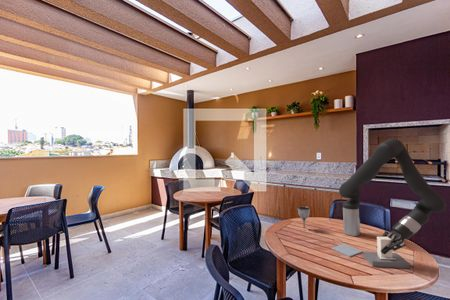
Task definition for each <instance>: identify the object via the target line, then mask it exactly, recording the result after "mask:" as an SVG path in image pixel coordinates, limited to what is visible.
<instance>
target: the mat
mask: <svg viewBox="0 0 450 300" xmlns="http://www.w3.org/2000/svg"><path fill="white" fill-rule="evenodd" d="M330 249H331V250H333V251H335V252H337V253H340V254H342V255H344V256H345V257H347V258H351V257H354V256H356V255H359V254H361V253H362V254H363V252H364V251H363V250H360V249H359V248H355V247H353V246H351V245H348V244H346V243H342V244H339V245H336V246H333V247H330Z"/></svg>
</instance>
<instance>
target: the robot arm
mask: <svg viewBox="0 0 450 300" xmlns="http://www.w3.org/2000/svg"><path fill="white" fill-rule="evenodd" d="M394 158H395V160H396V161H397V163H398V164H399V167H400V169H401V172H402V176H403V178H404V179H403V180H405V182H406V184H407V185H408V187H409V188H410V189H411V191H412V192H413V193H414V194H415V195H417V196H419V197H420V200H418V201H417V203H416V204H415V206H414V208H413V209H412V210H411V211H410V212H408V213H407V215H405V216H403V217H402V218H401V219H400V220H399V221H398V222H396V223H395V224H394V225H393V226H392V228H391V229H392V230H391V231H389V232H388V231H387V230H385V231H384V233H383V234H382V235H381V237H389V238H390V239H391V240H390V241H389V243H388V244H387V246H385V247H384V248H383V249H382V250H381V252H382V253H383V254H386V253H387V252H388V251H390V250H392V251H394V252H395V251H398V250H399V249H401V248H404V247H405V246H406V243H405V242H404V240H406V241H407V240H409V239H411V238H412V237H413V236H414V235H415V234H416V233H418V231H419V230H420V229H421V228H422V227H423V226H424V225H426V223H427V222H428V221H429V220H430V217H429V216H430V215H431V214H432V213H433V212H434V213H441V212H444V211H445V210H446V208H447V204H446V202H445V200H444V198H443V197H442V196H441V195H440V194H439V193H438V192H437V191H435V190H434V189H433V188H432V187H431V186H430V184H429V183H428V182H427V181H426V179H425V178H424V176H423V175H422V174H421V173H420V171H419V170H418V169H417V167H416V165H415V164H414V161H413V160H412V158H411V156H410V154H409V152H408V150H407V149H406V146H405V145H404V143H403V142H402V141H401V140H400V139H397V138H389V139H387V140H385V141H383V142H381V143H380V144H378V145H377V147H376V148H375V150H374V151H373V152H372V154H371V156H369V158H368V159H367V160H365V161H364V162H363V163H362V164H361V165H360V167H358V168H357V169H356V171H355V172H354V173H353V174H352V175H351V176H350V177H349V178H348V179H347V180H345V181H344V182H343V183H342V184H341V185H340V187H339V190H338V192H339V196H341V197H342V198H345V199H347V200H346V201H344V202H342V217H343V219H342V220H343V221H342V222H343V224H342V225H343V233H344V234H345V235H346V236H354V237H358V236H360V234H361V219H360V204H361V189H360V187H361V186H363V185H366V184H368V183H369V182H371V181H373V179H374V178H375V177H376V176H378V174H379V173H380V170H381V168H382V167H383V166H384V165H385V164H386V163H388V162H389V161H390V160H393V159H394ZM391 244H392V245H391ZM376 249H377V246H376Z"/></svg>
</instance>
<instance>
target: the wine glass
mask: <svg viewBox="0 0 450 300" xmlns="http://www.w3.org/2000/svg"><path fill="white" fill-rule="evenodd" d="M310 209H311V208H310V207H308V206H297V212H298V216H299V217H300V218H301V220H302V222H303V226H302V227H303V228H306V227H307V226H305V224H306V220H307V219H308V218H309V216H310Z"/></svg>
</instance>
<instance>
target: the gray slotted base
mask: <svg viewBox="0 0 450 300" xmlns="http://www.w3.org/2000/svg"><path fill="white" fill-rule="evenodd" d="M362 257H363V258H364V260H366V261H367V262H368V263H369V264H370V265H371V266H372V267H373V268H374V267H375V268H376V267H377V268H378V267H379V268H396V269H397V268H399V269H410V267H411V265H410V262H409V261H408V260H406V259H405V258H404V257H403V256H402V255H400V254H399V253H397V252H392V258H379V257H378V255H377V251H363V252H362Z"/></svg>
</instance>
